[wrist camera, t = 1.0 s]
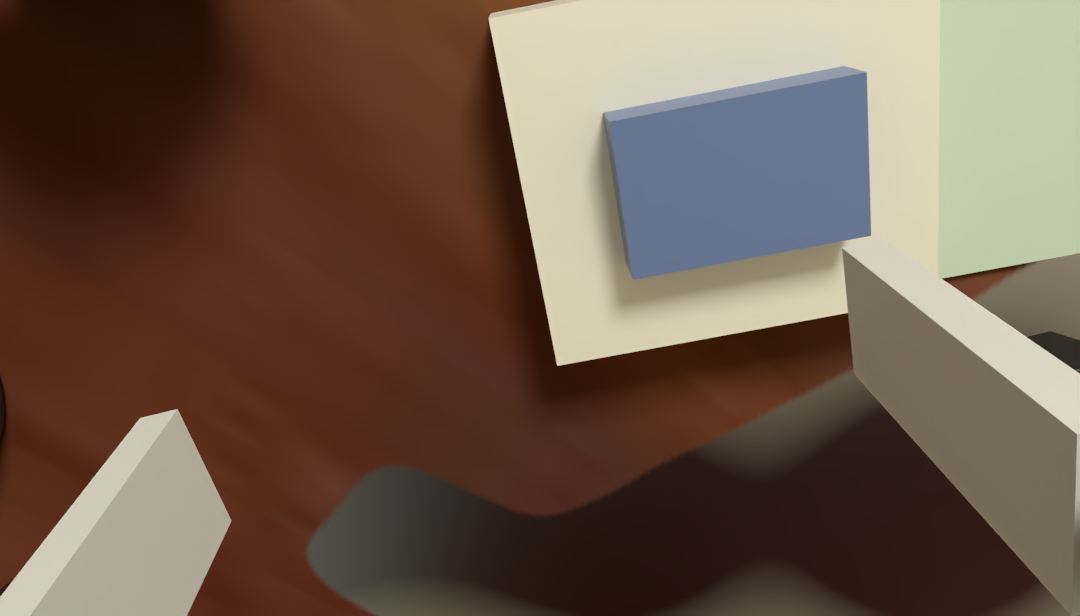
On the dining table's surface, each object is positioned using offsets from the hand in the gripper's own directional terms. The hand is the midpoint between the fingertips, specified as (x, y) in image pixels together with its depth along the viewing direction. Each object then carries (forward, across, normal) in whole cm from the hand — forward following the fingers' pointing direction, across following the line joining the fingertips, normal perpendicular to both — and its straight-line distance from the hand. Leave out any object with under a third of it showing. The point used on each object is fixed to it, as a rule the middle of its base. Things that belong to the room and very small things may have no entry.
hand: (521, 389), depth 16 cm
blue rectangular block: (+16, +8, -2) cm, 18 cm away
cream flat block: (+20, +8, -2) cm, 22 cm away
